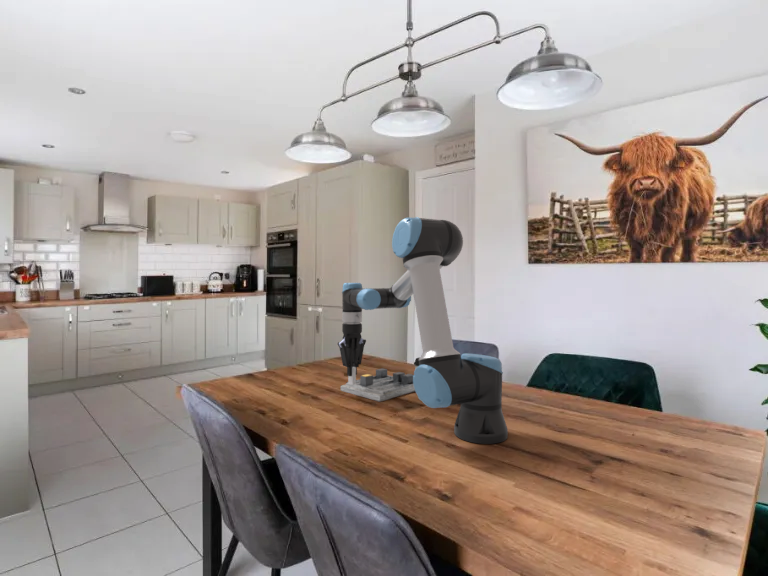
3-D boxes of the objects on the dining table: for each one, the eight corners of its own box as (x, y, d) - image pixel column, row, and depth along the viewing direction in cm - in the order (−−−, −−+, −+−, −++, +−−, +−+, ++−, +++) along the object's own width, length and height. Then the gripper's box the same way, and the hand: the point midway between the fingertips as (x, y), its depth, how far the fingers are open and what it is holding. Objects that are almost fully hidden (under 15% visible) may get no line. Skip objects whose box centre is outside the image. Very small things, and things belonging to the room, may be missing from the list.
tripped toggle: (365, 387, 169) (365, 376, 169) (360, 386, 171) (360, 375, 171) (372, 385, 172) (372, 375, 172) (367, 384, 174) (367, 373, 174)
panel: (379, 401, 158) (379, 385, 158) (340, 390, 173) (340, 375, 173) (424, 388, 177) (424, 374, 177) (385, 379, 192) (385, 366, 192)
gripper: (345, 324, 158) (345, 388, 159) (371, 322, 168) (370, 382, 168) (332, 323, 163) (332, 385, 164) (358, 320, 173) (357, 379, 173)
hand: (352, 383), depth 166 cm, fingers closed
